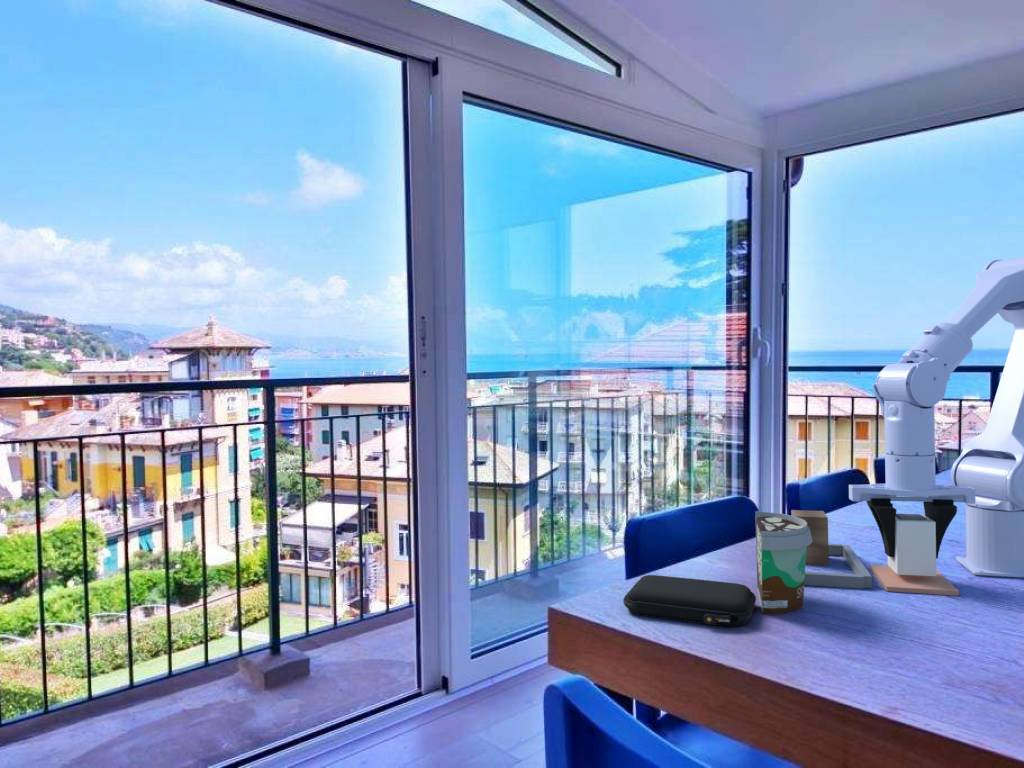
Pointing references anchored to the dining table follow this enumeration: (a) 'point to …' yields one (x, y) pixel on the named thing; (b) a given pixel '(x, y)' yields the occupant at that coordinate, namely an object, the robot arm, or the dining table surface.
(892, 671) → the dining table surface
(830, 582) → the grey rectangular frame
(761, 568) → the food container
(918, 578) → the terracotta mat
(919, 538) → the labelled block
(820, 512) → the walnut block
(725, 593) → the carrying case or bag
